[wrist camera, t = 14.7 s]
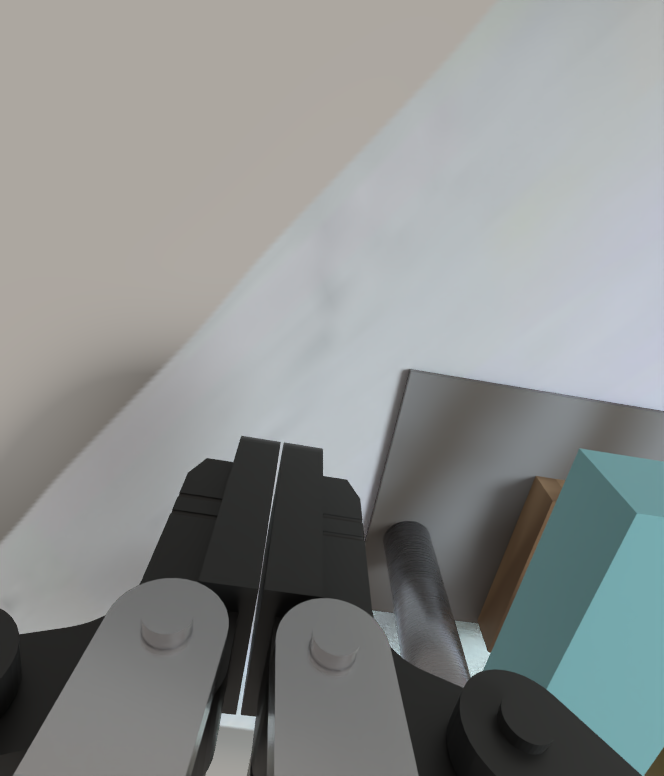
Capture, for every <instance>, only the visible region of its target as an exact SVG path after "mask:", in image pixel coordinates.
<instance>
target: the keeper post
mask: <svg viewBox="0 0 664 776" xmlns="http://www.w3.org/2000/svg"><path fill="white" fill-rule="evenodd" d="M383 544H384V551H385V557H386V563H387V570H388V576H389V582H390V589H391V595H392V601H393V607H394V614H395V620H396V626H397V633H398V639H399V645H400V652H401V657H402V658H403V659H405V660H406V661H408V662H409V663H411V664H412V665H414V666H416V667H418V668H420V669H422V670H424V671H426V672H428V673H430V674H433V675H435V676H437V677H440V678H442V679H444V680H447V681H449V682H451V683H453V684H456V685H458V686H460V687H463V688H464V686H465V684H466V682H467V681H468V680H469V679H470V678H471V676H470V673H469V669H468V666H467V662H466V659H465V655H464V652H463V648H462V645H461V641H460V638H459V634H458V631H457V627H456V624H455V620H454V617H453V613H452V610H451V607H450V603H449V600H448V596H447V593H446V589H445V586H444V582H443V579H442V575H441V572H440V568H439V565H438V561H437V558H436V554H435V551H434V547H433V544H432V540H431V537H430V533H429V531H428V530H427V528H426V527H425V526H424V525H422V524H420V523H418V522H414V521H402V522H399V523H396V524H394V525H393V526H391V527H390V528H389V529H388V530H387V531H386V533H385V535H384V538H383Z"/></svg>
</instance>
